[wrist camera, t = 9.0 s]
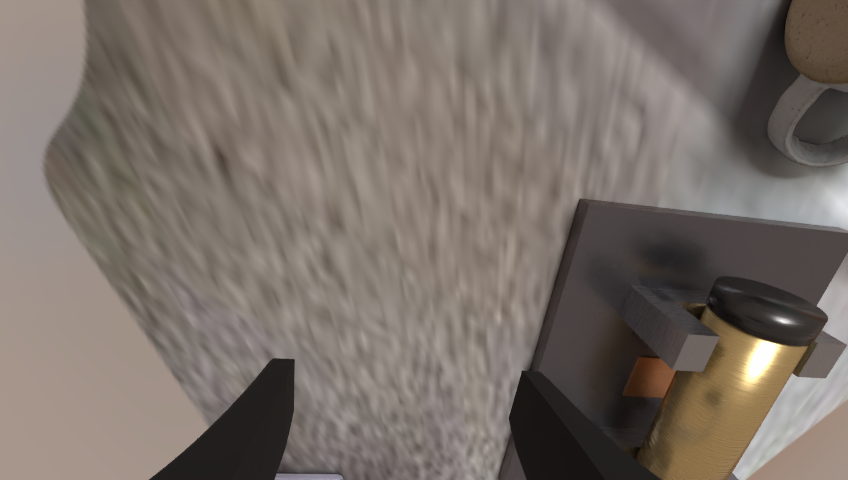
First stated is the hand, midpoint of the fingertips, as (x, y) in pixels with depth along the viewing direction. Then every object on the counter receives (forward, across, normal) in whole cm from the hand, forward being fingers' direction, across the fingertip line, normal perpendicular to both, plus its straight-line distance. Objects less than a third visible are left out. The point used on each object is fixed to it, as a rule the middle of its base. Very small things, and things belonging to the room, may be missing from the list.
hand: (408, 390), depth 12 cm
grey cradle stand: (+9, -17, +6) cm, 20 cm away
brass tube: (+7, -17, +6) cm, 19 cm away
